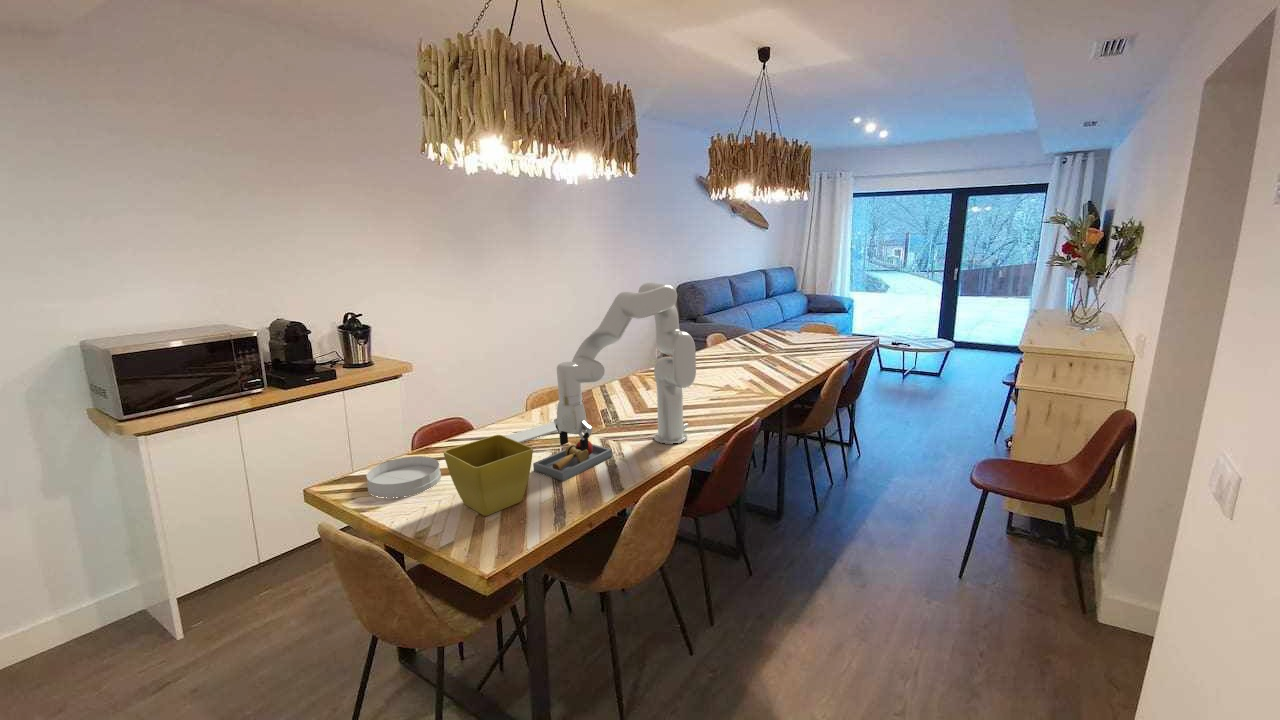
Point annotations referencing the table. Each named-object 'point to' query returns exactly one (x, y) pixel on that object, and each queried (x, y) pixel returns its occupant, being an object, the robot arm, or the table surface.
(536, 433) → the baseboard
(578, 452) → the kendama
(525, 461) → the flower pot
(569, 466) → the cradle tray
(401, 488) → the dish
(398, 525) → the table surface
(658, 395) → the robot arm
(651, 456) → the table surface
